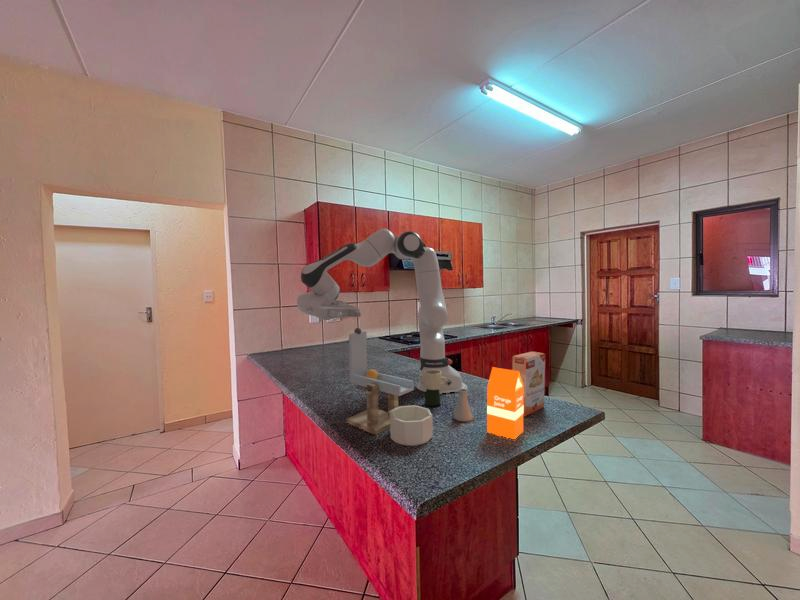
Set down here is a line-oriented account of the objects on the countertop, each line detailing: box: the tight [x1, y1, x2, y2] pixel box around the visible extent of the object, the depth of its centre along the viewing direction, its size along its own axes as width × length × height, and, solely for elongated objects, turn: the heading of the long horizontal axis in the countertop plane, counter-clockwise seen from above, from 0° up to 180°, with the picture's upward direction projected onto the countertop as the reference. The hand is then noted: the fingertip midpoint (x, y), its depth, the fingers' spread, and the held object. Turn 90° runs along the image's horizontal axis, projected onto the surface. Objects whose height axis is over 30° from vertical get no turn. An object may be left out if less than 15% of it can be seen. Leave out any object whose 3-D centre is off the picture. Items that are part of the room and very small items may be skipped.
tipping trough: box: [348, 327, 415, 397], centre depth 105 cm, size 23×7×21 cm, turn 50°
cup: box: [389, 404, 434, 447], centre depth 97 cm, size 13×13×7 cm
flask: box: [452, 388, 475, 422], centre depth 110 cm, size 7×7×10 cm
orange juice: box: [486, 366, 524, 440], centre depth 99 cm, size 8×9×20 cm
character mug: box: [418, 369, 446, 407], centre depth 123 cm, size 11×7×13 cm, turn 70°
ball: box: [366, 368, 379, 380], centre depth 107 cm, size 4×4×4 cm
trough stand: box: [345, 383, 399, 436], centre depth 107 cm, size 14×14×15 cm
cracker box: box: [511, 351, 546, 417], centre depth 116 cm, size 14×6×21 cm, turn 129°
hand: (350, 315), depth 116 cm, fingers open, 8 cm apart
